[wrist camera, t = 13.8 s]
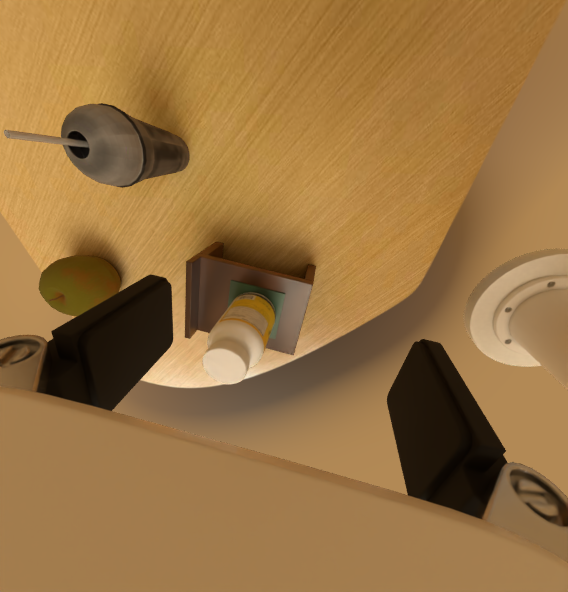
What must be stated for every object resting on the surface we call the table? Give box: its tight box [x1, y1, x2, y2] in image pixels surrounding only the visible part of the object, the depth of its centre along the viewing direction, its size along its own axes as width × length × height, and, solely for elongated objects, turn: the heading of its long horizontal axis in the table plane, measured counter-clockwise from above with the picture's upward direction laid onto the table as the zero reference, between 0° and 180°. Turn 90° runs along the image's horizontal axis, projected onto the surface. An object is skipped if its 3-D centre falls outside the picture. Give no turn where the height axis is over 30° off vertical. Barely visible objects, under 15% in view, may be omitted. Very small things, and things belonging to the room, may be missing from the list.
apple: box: [39, 256, 121, 316], centre depth 42 cm, size 10×10×11 cm
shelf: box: [185, 242, 316, 355], centre depth 39 cm, size 16×12×10 cm
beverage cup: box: [4, 103, 189, 187], centre depth 27 cm, size 7×7×20 cm
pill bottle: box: [203, 292, 276, 384], centre depth 31 cm, size 6×6×12 cm
